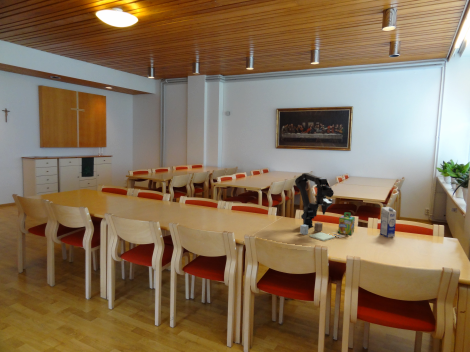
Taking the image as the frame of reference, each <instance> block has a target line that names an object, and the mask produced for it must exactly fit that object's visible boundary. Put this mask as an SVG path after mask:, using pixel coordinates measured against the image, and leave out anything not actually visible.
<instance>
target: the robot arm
mask: <svg viewBox="0 0 470 352" xmlns="http://www.w3.org/2000/svg"><path fill="white" fill-rule="evenodd" d="M308 181H310V182H313V183H314V184H315V186H314V188H316V195H315V199H316V200H315V202H311V201H310V199H309V194H308V191H307V182H308ZM294 184H295V186H296V188H297V189H298V190H299V193H300V197H301V200H302V203H303V211H302V212H303V213H302V214H301V216H300V217H301V220H302V219H303V220H302V221H303V222H302V225H308V229H309V228H312V227H313V228H314V225H313V220H314V219H315V217H316V218H317V214H318V210H319V208H320V207H319V206H321V212H322V215H325V214H326V212H327V209H328V208H329V207H331V206H332V205H333V199H332V197H333V195H334V194H335V193H334V192H335V191H334V190H333V189H332V187H330V183H329V182H328V180H327V178H326V177H324V176H316V175H313V174H311V173H308V172H306V173H305V172H304V173H302V174H301V175H299V176H297V177H296V178H295V180H294ZM327 198H329V199H327Z"/></svg>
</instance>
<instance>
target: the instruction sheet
mask: <svg viewBox="0 0 470 352" xmlns="http://www.w3.org/2000/svg"><path fill="white" fill-rule="evenodd" d="M337 234H338V233H337ZM337 234H333V235H336V236H337V237H336V238H338V237H339V239H341V238H344V237H346V235H345V234H342V233H339V234H340V235H337Z"/></svg>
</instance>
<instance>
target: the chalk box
mask: <svg viewBox="0 0 470 352" xmlns="http://www.w3.org/2000/svg"><path fill="white" fill-rule="evenodd" d="M355 222H356V218H355V216H352V214H351V212H344V213H343V215H341V216H340V217H339V219H338V230H337V234H341V235H349V236H352V235H353V233H354V232H355Z"/></svg>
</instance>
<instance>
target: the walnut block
mask: <svg viewBox="0 0 470 352" xmlns="http://www.w3.org/2000/svg"><path fill="white" fill-rule="evenodd" d="M313 228H314V232H316V233H320V232H321V231H322V232H323V223H322V222H319V221H317V222H314V226H313Z"/></svg>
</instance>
